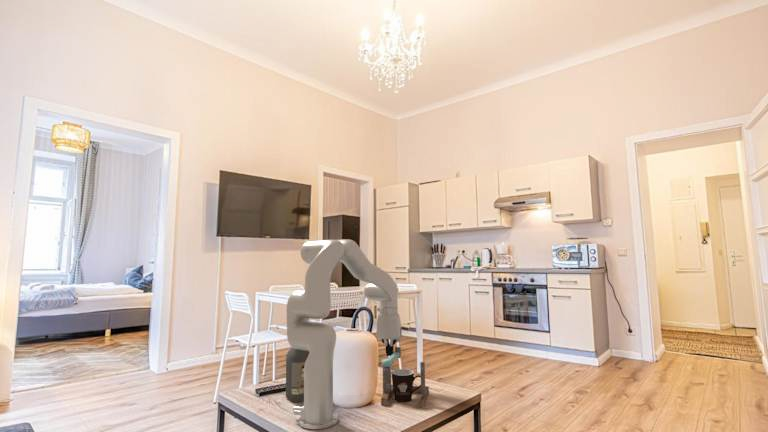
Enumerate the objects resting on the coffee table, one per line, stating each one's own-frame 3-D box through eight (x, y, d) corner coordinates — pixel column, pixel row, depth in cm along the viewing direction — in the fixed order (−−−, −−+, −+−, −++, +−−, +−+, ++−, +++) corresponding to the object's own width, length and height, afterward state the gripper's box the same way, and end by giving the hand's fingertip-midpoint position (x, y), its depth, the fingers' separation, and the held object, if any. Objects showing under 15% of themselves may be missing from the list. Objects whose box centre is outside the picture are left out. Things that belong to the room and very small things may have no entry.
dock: (379, 405, 143) (378, 364, 144) (389, 390, 158) (388, 353, 160) (423, 408, 139) (422, 366, 141) (429, 393, 155) (428, 355, 156)
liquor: (283, 397, 153) (284, 318, 156) (305, 392, 158) (305, 316, 161) (293, 404, 145) (294, 320, 149) (315, 398, 151) (316, 318, 154)
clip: (389, 368, 148) (389, 357, 149) (380, 367, 149) (380, 357, 150) (402, 356, 166) (402, 347, 166) (394, 356, 167) (394, 346, 167)
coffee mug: (387, 401, 146) (387, 373, 148) (397, 394, 154) (397, 368, 155) (416, 406, 141) (415, 377, 142) (425, 398, 149) (424, 371, 150)
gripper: (369, 311, 167) (369, 356, 165) (403, 312, 162) (404, 358, 160) (375, 309, 174) (376, 352, 172) (408, 310, 169) (409, 354, 167)
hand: (389, 355), depth 166 cm, fingers closed
